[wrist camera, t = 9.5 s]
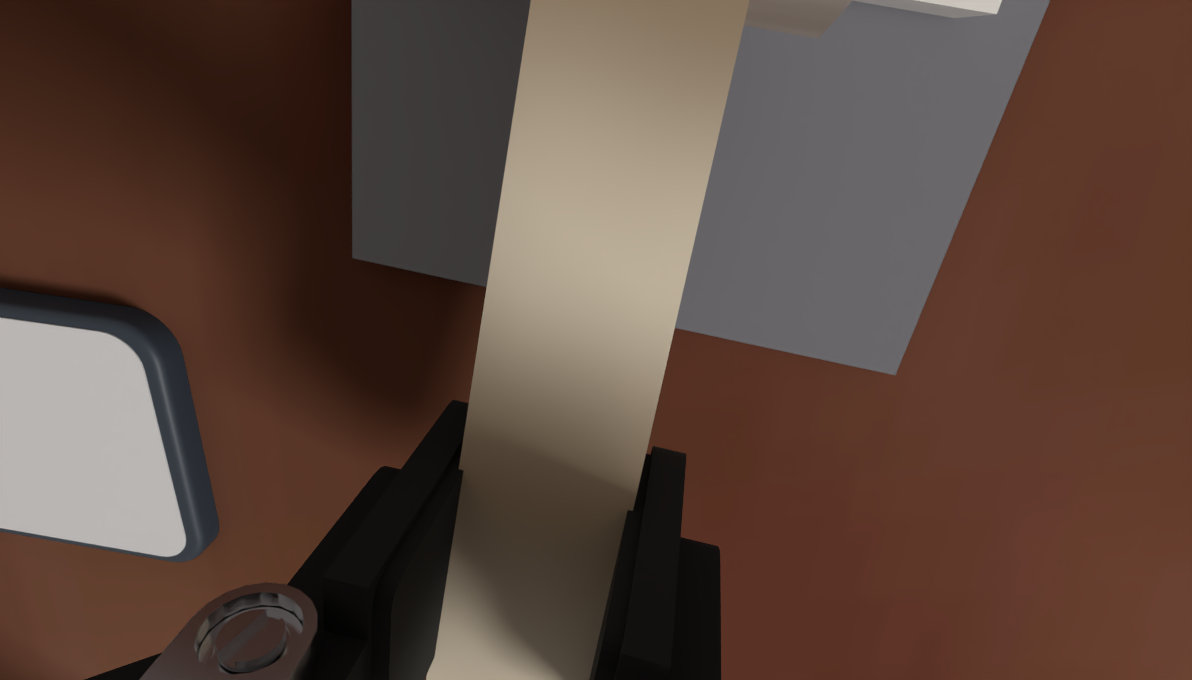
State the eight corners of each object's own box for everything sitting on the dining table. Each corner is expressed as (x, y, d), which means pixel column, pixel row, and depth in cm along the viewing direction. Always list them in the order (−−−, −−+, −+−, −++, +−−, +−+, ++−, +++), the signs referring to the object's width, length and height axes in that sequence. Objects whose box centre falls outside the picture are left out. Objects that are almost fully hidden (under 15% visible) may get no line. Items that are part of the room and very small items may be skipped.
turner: (636, 753, 14) (610, 1061, 9) (407, 691, 14) (264, 953, 9) (836, -32, 10) (979, -237, 5) (521, -85, 10) (383, -321, 6)
